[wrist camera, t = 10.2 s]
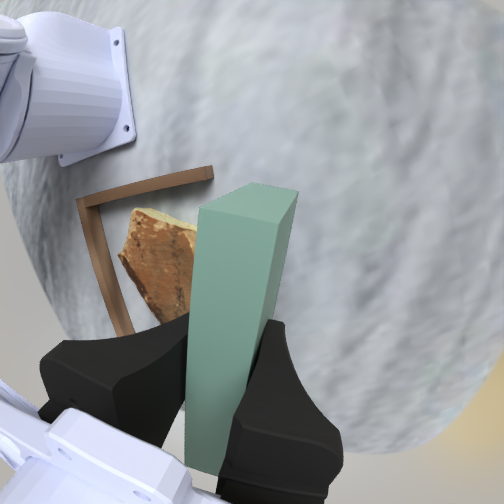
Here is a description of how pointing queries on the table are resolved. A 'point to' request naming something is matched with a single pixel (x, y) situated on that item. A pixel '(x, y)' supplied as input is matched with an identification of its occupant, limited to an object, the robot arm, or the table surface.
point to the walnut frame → (99, 244)
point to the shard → (160, 261)
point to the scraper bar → (231, 309)
